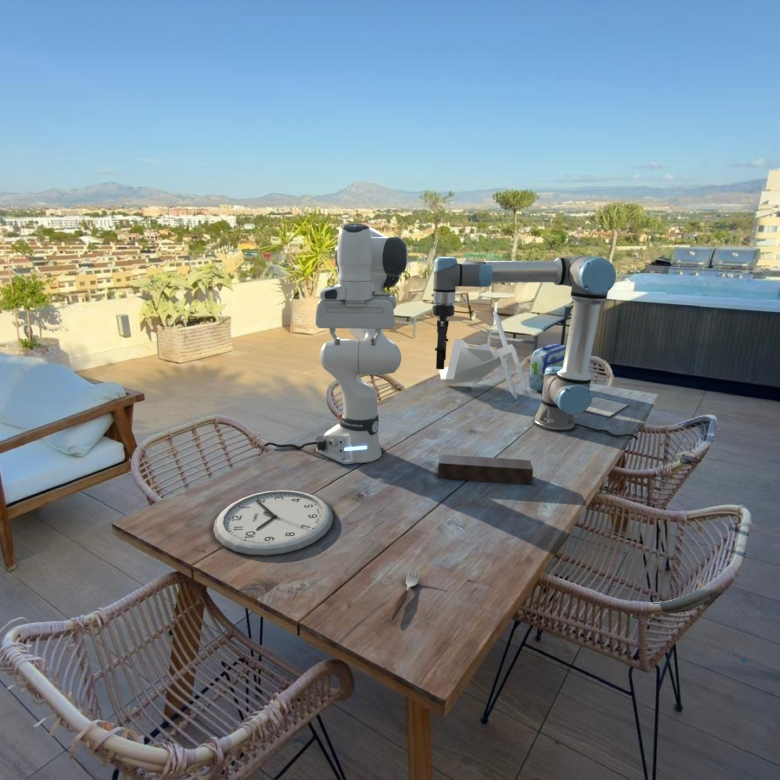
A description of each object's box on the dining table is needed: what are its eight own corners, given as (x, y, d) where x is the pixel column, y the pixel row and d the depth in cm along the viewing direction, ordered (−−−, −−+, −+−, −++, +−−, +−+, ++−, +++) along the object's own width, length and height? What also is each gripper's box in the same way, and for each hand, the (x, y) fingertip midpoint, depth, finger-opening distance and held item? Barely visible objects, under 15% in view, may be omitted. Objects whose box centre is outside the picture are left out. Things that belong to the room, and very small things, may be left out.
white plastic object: (461, 429, 252) (437, 405, 227) (444, 352, 274) (420, 323, 250) (535, 404, 240) (518, 377, 215) (510, 326, 262) (492, 293, 237)
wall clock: (331, 546, 121) (198, 551, 119) (331, 552, 122) (199, 557, 119) (333, 485, 150) (227, 488, 147) (334, 490, 150) (227, 493, 148)
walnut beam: (528, 474, 163) (530, 460, 161) (531, 484, 156) (533, 469, 155) (438, 468, 166) (439, 454, 164) (437, 478, 159) (438, 463, 158)
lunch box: (545, 396, 239) (550, 351, 232) (524, 391, 246) (528, 347, 240) (572, 385, 256) (577, 343, 250) (552, 380, 263) (557, 339, 257)
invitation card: (608, 416, 214) (573, 407, 224) (608, 416, 214) (573, 408, 224) (628, 404, 229) (594, 396, 238) (628, 405, 229) (594, 397, 238)
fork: (385, 619, 101) (385, 611, 101) (410, 571, 116) (411, 563, 115) (398, 623, 100) (398, 614, 100) (422, 574, 115) (422, 566, 114)
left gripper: (396, 290, 135) (395, 342, 139) (316, 289, 134) (317, 342, 138) (397, 293, 129) (395, 348, 133) (313, 292, 128) (315, 347, 132)
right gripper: (434, 298, 191) (432, 355, 197) (430, 308, 167) (427, 372, 174) (455, 299, 190) (452, 356, 196) (453, 309, 166) (450, 373, 173)
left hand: (355, 345), depth 136 cm, fingers open, 8 cm apart
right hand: (441, 364), depth 185 cm, fingers open, 13 cm apart
